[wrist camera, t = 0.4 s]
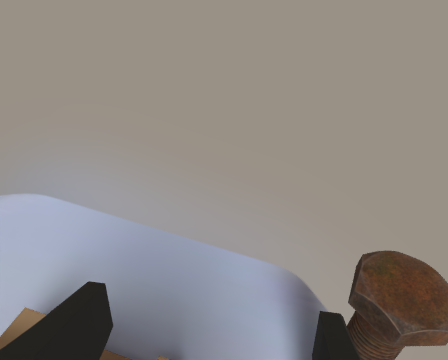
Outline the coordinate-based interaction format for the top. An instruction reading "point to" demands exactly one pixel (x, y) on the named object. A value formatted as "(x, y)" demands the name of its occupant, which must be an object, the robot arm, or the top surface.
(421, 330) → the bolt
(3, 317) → the top surface
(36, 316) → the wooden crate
